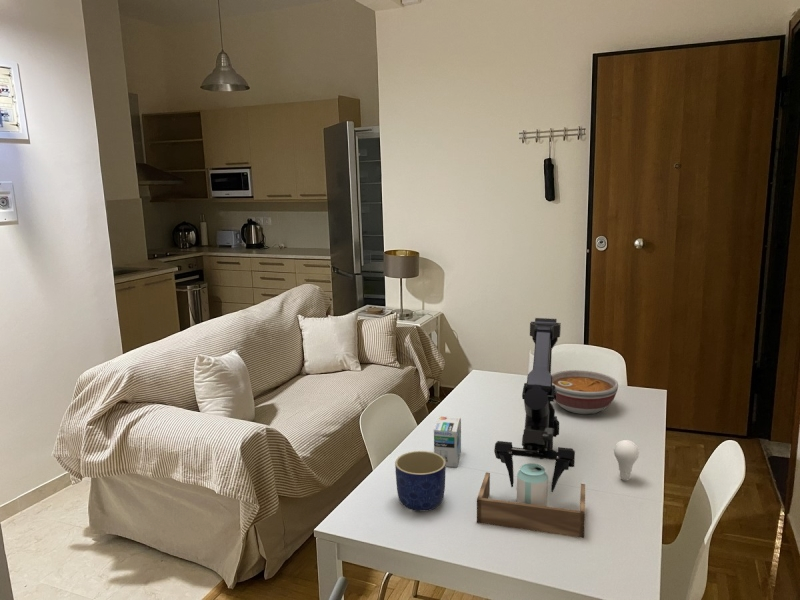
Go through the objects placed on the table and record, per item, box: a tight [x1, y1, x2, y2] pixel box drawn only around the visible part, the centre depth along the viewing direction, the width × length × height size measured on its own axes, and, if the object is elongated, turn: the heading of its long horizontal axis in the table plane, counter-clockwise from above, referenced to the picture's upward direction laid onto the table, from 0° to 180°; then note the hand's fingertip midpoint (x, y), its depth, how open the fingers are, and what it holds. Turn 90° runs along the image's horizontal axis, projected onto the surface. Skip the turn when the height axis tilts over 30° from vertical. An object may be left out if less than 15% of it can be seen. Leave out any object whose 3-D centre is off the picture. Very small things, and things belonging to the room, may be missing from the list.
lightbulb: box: [613, 439, 640, 481], centre depth 160 cm, size 6×6×11 cm
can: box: [516, 462, 549, 506], centre depth 145 cm, size 7×7×12 cm
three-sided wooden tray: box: [476, 471, 586, 539], centre depth 146 cm, size 14×24×6 cm, turn 73°
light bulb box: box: [433, 415, 462, 468], centre depth 175 cm, size 11×7×11 cm, turn 168°
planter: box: [394, 450, 447, 512], centre depth 152 cm, size 12×12×11 cm
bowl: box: [551, 369, 619, 415], centre depth 209 cm, size 23×23×10 cm
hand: (531, 489), depth 144 cm, fingers open, 9 cm apart
